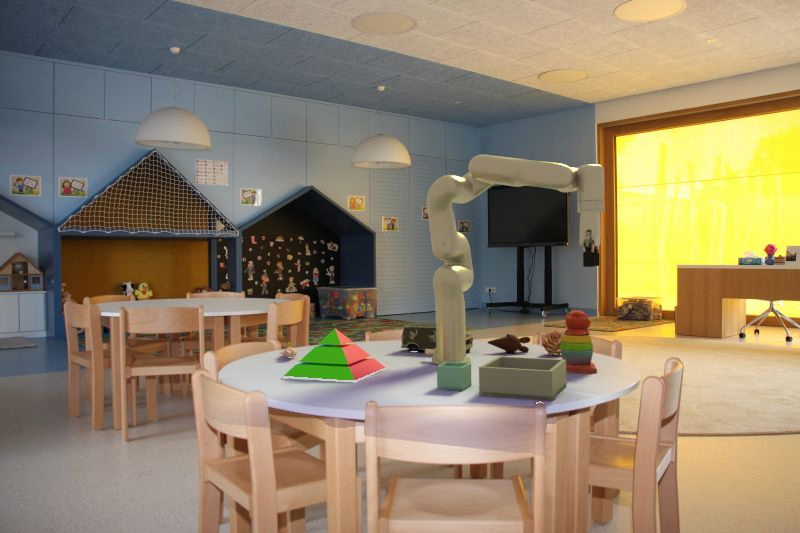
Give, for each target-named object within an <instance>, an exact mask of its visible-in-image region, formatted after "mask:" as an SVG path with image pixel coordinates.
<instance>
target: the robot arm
mask: <svg viewBox="0 0 800 533" xmlns="http://www.w3.org/2000/svg"><path fill="white" fill-rule="evenodd" d="M467 168H468V172H467V173H465V174H464V175H462V176H458V175H455V174H446V175H442V176H441V177H439V178H437V179H436V180H435V181H434V182H433V183H432V184H431V186H430V187H429V189H428V191H427V195H426V209H427V210H426V211H427V216H428V224H429V225H428V227H429V232H430V235H429V236H430V241H431V242H430V243H431V249H432V253H433V255H434V256H435V257H436V258H437V259H438V260H441V261H444V265H442V266H440V267H438V269H436V270H435V272H434V275H433V277H432V286H433V288H432V289H433V294H434V302H435V303H434V304H435V323H436V348H435V349H426V350H424V355H425V356H432V358H431V363H432V364H434V365H437V366H438V365H440V364H443V363H445V362H458V363H471V362H472V359H471V358H470V357H467V351H466V333H467V332H466V303H465V296H464V292H466V291H468V290H469V289H470V288H471V287H472V286H473V283H474V269H473V268H474V266H473V262H472V254H471V253H472V252H471V246H470V243H469V240H468V239H467V237H466V236H465V235H464V234H463V233H461V232H459V231H457V224H456V223H457V222H456V217H455V212H454V210H453V203H455V204H459V205H460V204H466V203H468V202H471V201H472V200H474V199H475V198H477V197H478V196H480V195H481V194H482V193H484V192H485V191H486V190H488V189H489V188H491V187H493V185H503V186H510V187H515V188H516V187H517V188H519V187H523V186H524V187H526V186H527V187H534V188H535V187H536V188H537V187H538V188H544V189H551V190H555V191H556V190H557V191H559V192H561V193H570V192H571V193H572V192H577V198H576V199H577V203H576V204H577V214H580V215H579V216H580V218H579V242H578V244H579V246H580V247H583V250H582V251H583V253H582V255H583V256H582V258H583V259H582V263H583V266H582V267H585V268H586V267H587V268H591V267H598V266H600V250H599V249H600V248H599V246H600V245H601V235H602V234H601V228H602V227H601V226H602V225H601V224H602V223H601V213H605V169H604V167H603V166H602V165H601V164H595V163H594V164H593V163H592V164H583V165H580V166H578V167H570V166H569V165H566V164H563V163H558V162H549V161H543V160H542V161H541V160H531V159H530V160H529V159H525V158H515V157H507V156H499V155H490V154H478V155H475V156H473V157H472V158H471V159H470V161H469V163H468V167H467Z"/></svg>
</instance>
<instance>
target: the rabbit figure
mask: <svg viewBox="0 0 800 533" xmlns="http://www.w3.org/2000/svg"><path fill="white" fill-rule="evenodd" d="M279 354H280V355H282V357H284V356H285V357H284V358H286V357H292V358H295V357H296V356H297V355H298V350H297V349H295V348H294V347H292V344H291V341H288V342H287V345H286V348H285V349H284V350H283V352H282V351H281V352H279ZM294 356H295V357H294Z"/></svg>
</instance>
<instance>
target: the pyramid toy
mask: <svg viewBox="0 0 800 533" xmlns="http://www.w3.org/2000/svg"><path fill="white" fill-rule="evenodd" d="M352 342H353V341H352V340H351V339H350V338H348V336H346V335H344V334H343V333H342V332H340V331H339V330H338V329H337V328H334V329H333V330H331V331H330V332H329V333H328V334H327V335H326V336H325V337H324V338H322V340H321V341H320V342H318V345H316V346H314V347H313V348H312V349H311V350H310V351H309V352H307V354H306V355H304V356H303V357H301V359H300V360H299V361H298V363H297V364H295V365H294V366H292V368H290V369H289V370H288V371H287V372H286V373H285V374H284V375H283V376H294V377H308V378H322V379H337V380H357V379H359V378H362V377H364V376H366V375H369V374H371V373H373V372H376V371H378V370H380V369H383V368H385V367H386V366H385V365H383V363H381V362H380V361H379V360H377V359H376V358H374V357H371V354H369V353H368V352H366V351H365V350H364V349H362V348H361V347H360V346H359V345H357V343H352Z"/></svg>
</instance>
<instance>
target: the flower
mask: <svg viewBox="0 0 800 533" xmlns="http://www.w3.org/2000/svg"><path fill="white" fill-rule="evenodd" d="M563 334H564V332H562V331H561V332H560V331H557V330H555V329H554V330H551V331H550V332H547V333H546V332H545V333H543V334H541V336H540V337H541V339H540V340H541V347H543V348H544V350H545V351H546V352H547V354H546V356H548V355H553V354H555V355H557V356H561V341H562V336H563Z"/></svg>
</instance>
